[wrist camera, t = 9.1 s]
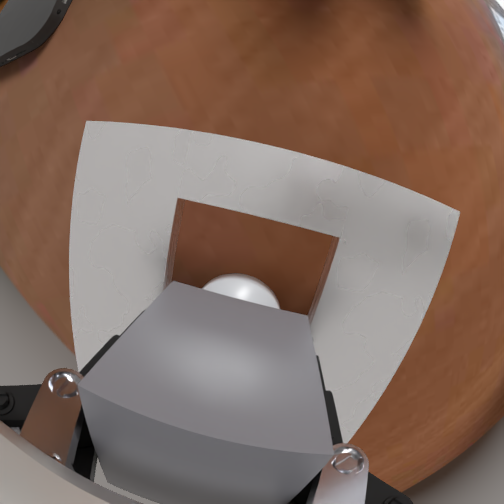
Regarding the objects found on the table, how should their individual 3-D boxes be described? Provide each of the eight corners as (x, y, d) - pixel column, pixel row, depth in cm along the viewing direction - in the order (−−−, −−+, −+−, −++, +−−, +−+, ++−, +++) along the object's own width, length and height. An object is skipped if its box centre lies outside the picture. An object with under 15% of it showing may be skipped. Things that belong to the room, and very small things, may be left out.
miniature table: (389, 197, 17) (460, 212, 9) (309, 404, 21) (317, 477, 14) (157, 140, 17) (86, 120, 9) (132, 359, 21) (89, 418, 14)
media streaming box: (27, -11, 12) (15, -17, 9) (104, -49, 11) (93, -61, 8) (-11, 75, 16) (-27, 72, 13) (56, 43, 15) (37, 35, 12)
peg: (299, 282, 13) (334, 454, 4) (271, 363, 14) (262, 524, 5) (198, 255, 13) (77, 385, 4) (183, 340, 14) (107, 482, 5)
